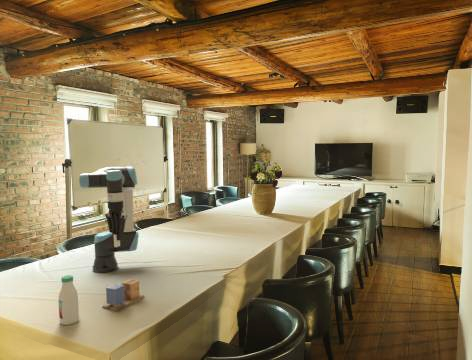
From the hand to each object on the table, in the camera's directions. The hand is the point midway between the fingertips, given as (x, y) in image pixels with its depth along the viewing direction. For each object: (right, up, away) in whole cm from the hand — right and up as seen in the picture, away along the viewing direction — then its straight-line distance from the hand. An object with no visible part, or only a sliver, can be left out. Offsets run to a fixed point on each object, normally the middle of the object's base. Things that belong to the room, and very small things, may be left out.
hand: (117, 246), depth 182 cm
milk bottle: (-12, -28, -26) cm, 40 cm away
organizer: (+6, -26, -7) cm, 28 cm away
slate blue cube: (+3, -25, -11) cm, 27 cm away
